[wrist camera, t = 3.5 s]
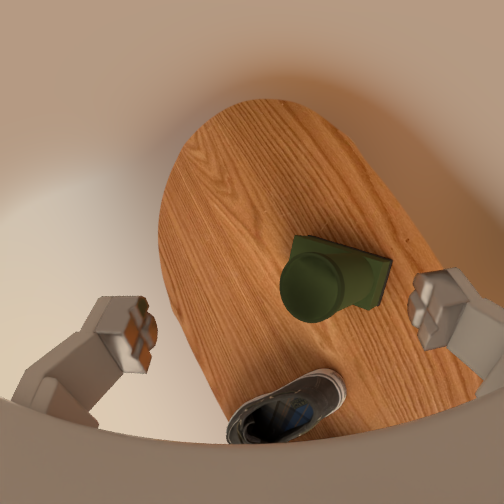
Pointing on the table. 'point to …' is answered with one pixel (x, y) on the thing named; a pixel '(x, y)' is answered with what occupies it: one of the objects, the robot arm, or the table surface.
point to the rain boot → (330, 278)
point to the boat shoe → (287, 409)
